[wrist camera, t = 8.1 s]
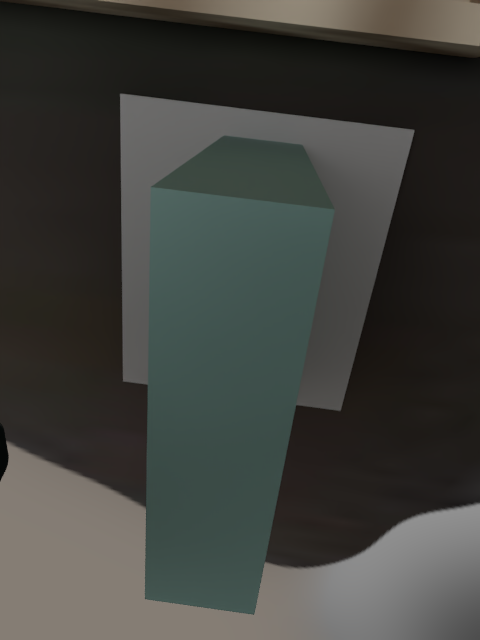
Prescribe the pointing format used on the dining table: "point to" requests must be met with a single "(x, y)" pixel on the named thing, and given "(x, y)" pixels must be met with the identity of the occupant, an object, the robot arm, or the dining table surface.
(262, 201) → the teal square block
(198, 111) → the grey mat
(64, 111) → the dining table surface
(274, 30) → the rack
